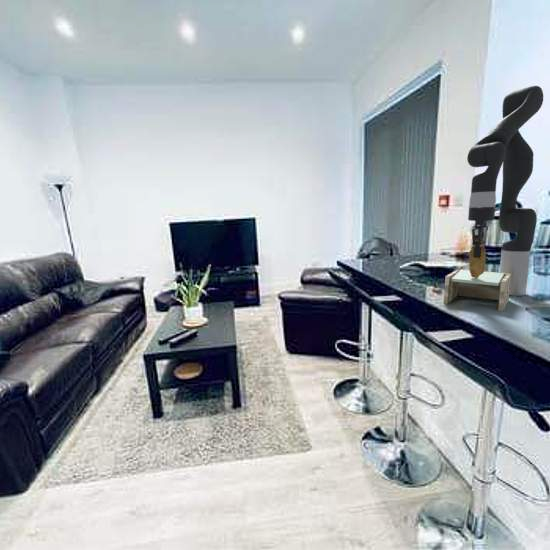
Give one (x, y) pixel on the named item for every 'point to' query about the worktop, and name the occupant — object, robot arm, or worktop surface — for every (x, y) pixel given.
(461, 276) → the trapdoor
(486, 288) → the trapdoor frame
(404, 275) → the worktop surface
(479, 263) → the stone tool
